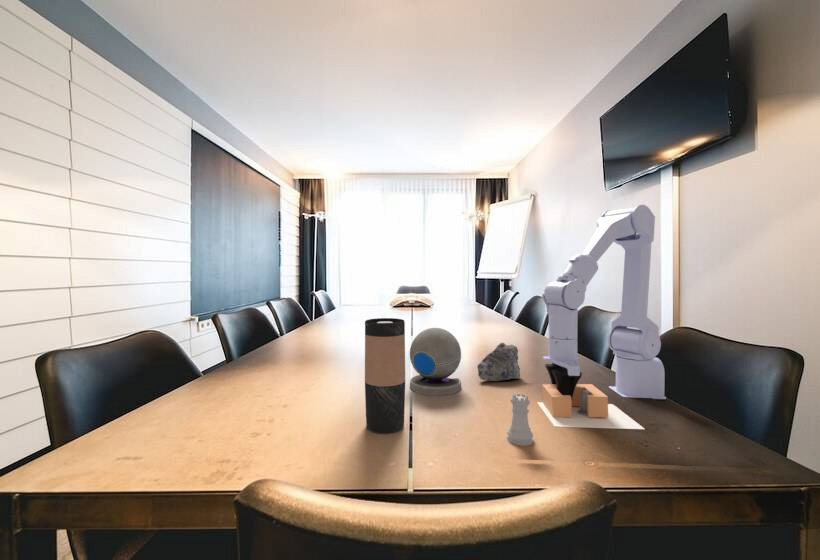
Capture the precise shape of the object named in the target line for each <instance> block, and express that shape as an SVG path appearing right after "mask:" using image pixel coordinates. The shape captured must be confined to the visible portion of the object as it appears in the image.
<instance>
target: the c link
mask: <svg viewBox="0 0 820 560" xmlns="http://www.w3.org/2000/svg"><path fill="white" fill-rule="evenodd" d="M541 387H542V389H541V392H542V393H541V397H542V398H541V399H542V402H543V404H544V405H545V407H546V408H547V409H548V411H549V412H550V414H551V415H552V417H572V406H581V390H587V391H589V392H590V395H586V396H587V416H588V417H608V404H609V397H608V395H606V394H605V393H604V392H603V391H602V390H600V389H598V387H596V386H595V385H594V384H592V383H582V384H581V383H577V384H576V387H575V390H574V393H573V397H572V401H571V396H570V395H562V394H561V393H560V392H559V391H558V390H557V384H552V383H550V384H548V383H547V384H543V383H542V384H541Z"/></svg>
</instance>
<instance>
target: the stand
mask: <svg viewBox="0 0 820 560" xmlns="http://www.w3.org/2000/svg"><path fill="white" fill-rule="evenodd" d="M586 395H590V392H589V391H587V390H581V406H572V417H552V415H551V414H550V412H549V411H548V409H547V408H546V407H545V405H544V404H543V401H541V402H540V401H537V402H536V404H537V405H538V406H539V407H540V409H541V410H542V411H543V413H544V414H545V415H546V417H547V418H548V419H549V421H550V422H551V424H552V425H553V427H555V428H583V429H585V428H587V429H589V428H590V429H591V428H592V429H614V430H615V429H616V430H617V429H618V430H620V429H622V430H625V429H626V430H645V428H644V427H643V426H642V425H640V423H638V422H637V421H635V420H634V419H633V418H632V417H630V416H629V415H628V414H626V413H625V412H623V411H622V410H621V409H620V408H619V407H617V406H616V405H614V403H608V417H588V416H587V396H586Z"/></svg>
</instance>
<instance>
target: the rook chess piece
mask: <svg viewBox="0 0 820 560" xmlns="http://www.w3.org/2000/svg"><path fill="white" fill-rule="evenodd" d="M510 403H511V405H512V408H511V411H512V419H511V424H510V425H509V428H508V430H507V432H506V434H507V436H506V440H507V441H508V442H510V443H511V444H514V445H517V446H529V445H533V443H534V434H533V432H532V430H531V427H530V424H529V419H528V413H529V409H528V406H530V404H531V401H530V400H529V396H528V395H526V394H525V393H523V394H521V395H520V393H513V394H512V397H511V399H510Z"/></svg>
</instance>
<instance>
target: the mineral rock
mask: <svg viewBox="0 0 820 560" xmlns="http://www.w3.org/2000/svg"><path fill="white" fill-rule="evenodd" d="M518 354H519V350H518V347H517V346H516V345H514V344H506V343H505V342H500V343H499V344H497V345H496V347H495V349H494V350H492V351H491V352H490V353H488V354H487V355H486V356H485V357H484V358H483V359H482V360H481V361H480V362H479V363H478V364H477V366H476V367H477V372H478V373H477V374H478V375H477V376H478V378H479V379H480V380H483V381H489V382H502V381H507V380H513V379H514V380H516V379H520V378H521V373H520V370H521V368H520V366H519V361H518V360H519V355H518Z"/></svg>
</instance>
